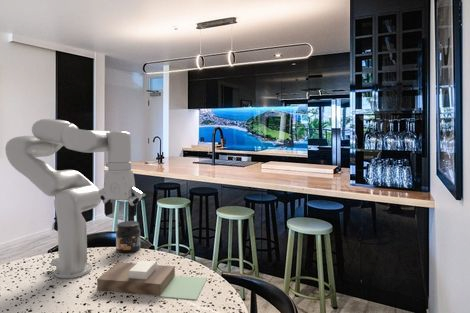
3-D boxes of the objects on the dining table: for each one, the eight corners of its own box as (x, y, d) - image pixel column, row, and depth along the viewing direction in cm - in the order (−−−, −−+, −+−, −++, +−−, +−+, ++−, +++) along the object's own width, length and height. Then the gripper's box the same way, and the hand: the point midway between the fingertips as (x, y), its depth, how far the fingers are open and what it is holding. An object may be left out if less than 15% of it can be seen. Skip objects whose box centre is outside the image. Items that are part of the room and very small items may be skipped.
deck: (97, 290, 105) (97, 279, 105) (118, 272, 119) (118, 262, 118) (160, 296, 102) (160, 284, 102) (174, 277, 116) (174, 266, 115)
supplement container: (110, 252, 139) (110, 225, 138) (125, 244, 149) (125, 219, 148) (131, 255, 136) (131, 228, 135) (145, 247, 146) (145, 221, 145)
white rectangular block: (129, 277, 106) (129, 270, 106) (140, 266, 115) (140, 260, 114) (146, 279, 105) (146, 272, 105) (156, 268, 114) (156, 261, 114)
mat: (160, 297, 101) (160, 296, 101) (175, 276, 116) (175, 275, 116) (196, 300, 100) (196, 299, 100) (206, 278, 115) (206, 278, 115)
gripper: (91, 167, 108) (92, 216, 109) (135, 168, 104) (135, 220, 105) (105, 165, 116) (106, 211, 117) (147, 166, 111) (148, 214, 112)
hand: (120, 215), depth 111 cm, fingers open, 9 cm apart
